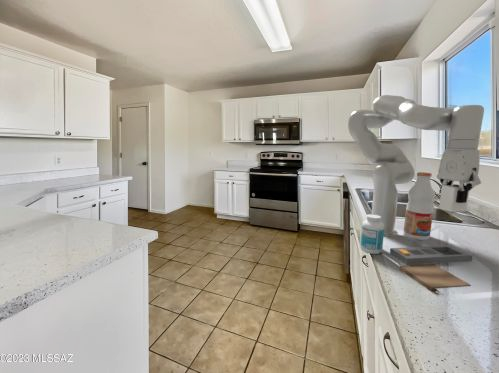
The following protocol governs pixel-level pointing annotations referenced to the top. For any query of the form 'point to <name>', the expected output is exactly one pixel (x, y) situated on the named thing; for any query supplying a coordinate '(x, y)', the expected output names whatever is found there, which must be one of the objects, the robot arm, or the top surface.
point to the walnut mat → (432, 276)
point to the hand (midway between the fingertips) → (453, 200)
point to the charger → (451, 199)
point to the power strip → (430, 254)
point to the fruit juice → (420, 208)
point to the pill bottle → (372, 235)
